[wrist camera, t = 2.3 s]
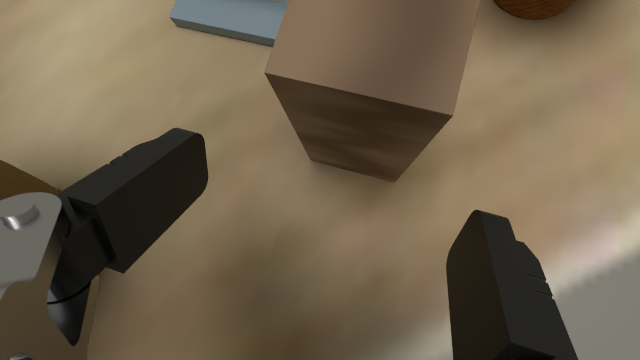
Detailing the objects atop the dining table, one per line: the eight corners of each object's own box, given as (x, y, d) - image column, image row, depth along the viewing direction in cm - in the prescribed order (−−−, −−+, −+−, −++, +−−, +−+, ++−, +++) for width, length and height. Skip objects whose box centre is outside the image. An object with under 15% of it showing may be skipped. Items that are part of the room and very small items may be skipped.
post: (310, 160, 22) (264, 72, 10) (334, 83, 22) (316, -82, 11) (394, 182, 21) (452, 115, 9) (415, 102, 22) (493, -56, 10)
